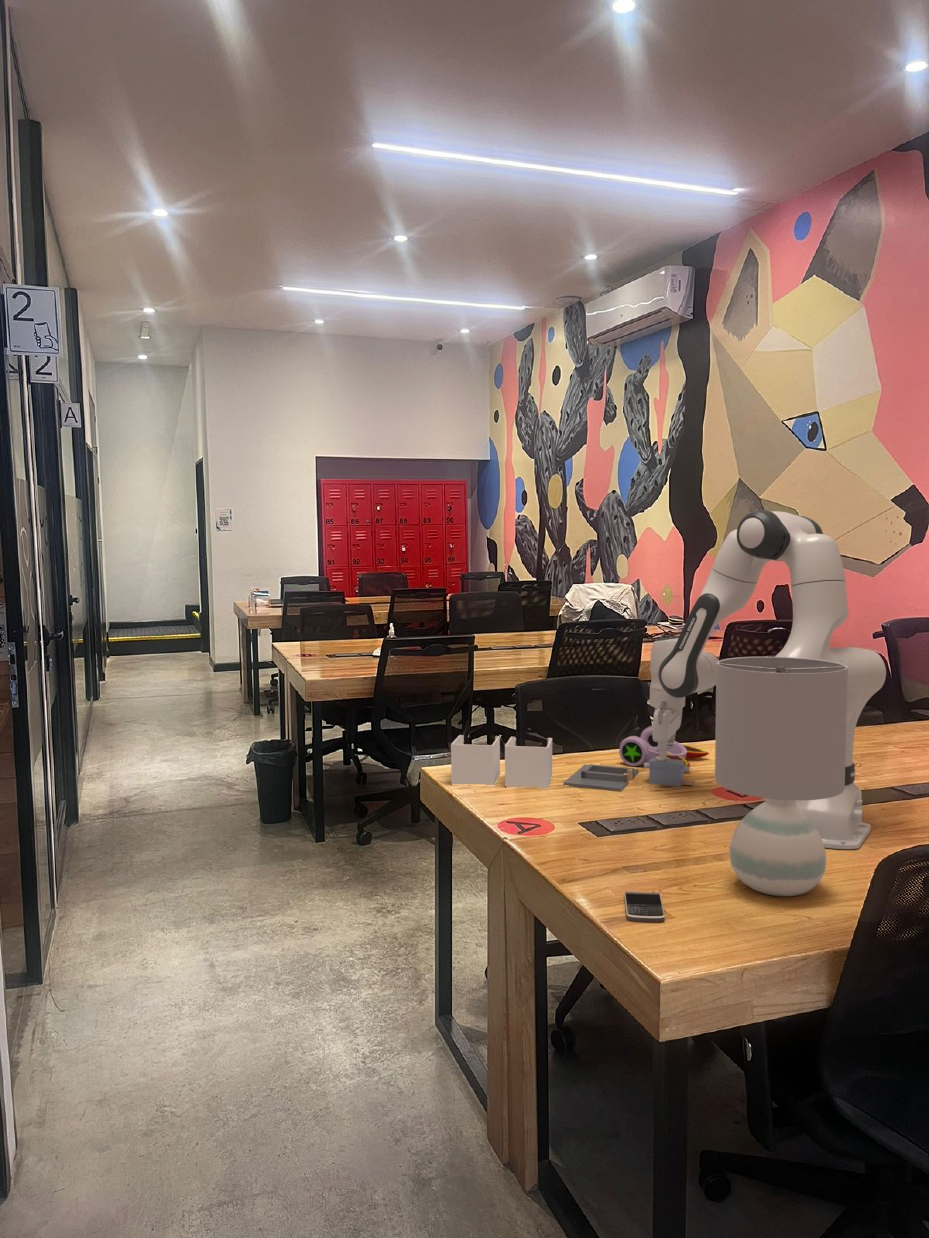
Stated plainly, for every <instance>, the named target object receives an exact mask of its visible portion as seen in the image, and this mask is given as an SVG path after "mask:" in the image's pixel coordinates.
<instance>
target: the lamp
mask: <svg viewBox="0 0 929 1238" xmlns="http://www.w3.org/2000/svg"><path fill="white" fill-rule="evenodd" d="M847 680H848V667H847V666H846V665H844V664H841V663H837V662H832V661H826V660H818V659H808V658H795V657H775V656H742V657H740V656H739V657H732V658H731V657H729V658H725V659H724V658H723V659H720V660H719V661H718V662H717V663H716V685H715V746H714V747H715V748H714V749H715V750H714V752H715V754H714V780H715V783H717V785H719V786H721V787H722V788H723V789H726V790H729V791H731V792H733V793H738V794H742V795H745V796H750V797H755V798H763V799H764V802H762V803H760V804H759V805H757V806H756V807H755V806H754V808H753V809H751V810H750V811H749V812H748V813H746V815H745V816H744V817H742V819H741V820H740V821H739V823H737V825H736V828H735V829H734V831H733V833H732V836H731V839H730V843H729V847H728V848H729V851H728V854H729V856H728V858H729V863H730V866H731V868H732V871H733V872H734V874H735V876H736V877H737V878H738V879H739V880H740V881H741V882H742V883H743V884H744V885H746V886H747V887H748V888H750V889H752V890H754V891H756V892H758V893H762V894H763V895H768V896H773V897H795V896H800V895H804V894H806V893H808V892H810V891H811V890H814V888H815V887H817V886H818V885H819V884H820V882H821V881H822V878H823V877H824V875H825V872H826V869H827V854H826V850H825V849H826V848H824V845H823V842H822V839H821V837H820V835H819V833H818V831H817V830H816V828H815V827H814V825H813V824H812V823H811V822H810V820H809V819H808V818H807V817H806V816H805V815H804V814H803V813H802V812H801V811H800V810H798V809H797V808H796V807H795V806H793V805H792V804H791V800H818V799H825V798H831V797H834V796H837V795H839V794H841V793H842V792H843V791H844V789H845V755H846V717H847Z"/></svg>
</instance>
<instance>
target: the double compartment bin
mask: <svg viewBox="0 0 929 1238" xmlns="http://www.w3.org/2000/svg"><path fill="white" fill-rule="evenodd" d="M464 737H465V735H462V734H459V735H458V736H457V737H456V738H455V739H454V740H453V741H452V743H451V744H450V761H451V762H450V767H451V769H450V771H451V774H450V775H451V780H450V781H451V784H486V785H494V784H495V782H496V780H497V778H498V777H499V775H500V776H501V745H500V744H501V737H500V736H498V735H496V736H495V738H494V739H495V740H494V741H493V743H492V744H467V743H466V744H464V743H465V741H464V740H465V739H464ZM499 778H500V777H499ZM551 778H552V779H553V738H552V737H547V745H546V746H545V747H544V746H526V745H525V746H524V745H523V746H518V745H516V736H510V738H509V739H508V741H507V742H506V744H505V746H504V787H505V786H507V787H540V788H548V787H549V788H550V786H549V784H550V785H551V783H550V781H551V782H552V780H551ZM497 781H498V780H497ZM496 783H497V782H496ZM451 784H450V785H451ZM495 785H496V784H495ZM495 785H494V786H495ZM549 788H548V789H549Z"/></svg>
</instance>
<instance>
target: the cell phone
mask: <svg viewBox="0 0 929 1238" xmlns="http://www.w3.org/2000/svg"><path fill="white" fill-rule="evenodd" d="M623 896H624V904H625V913H626V918H627V920H628V921H632V922H642V923H663V922H664V921H665V917H666V916H665V914H666V913H665V911H664V905H663V901H662V896H661V893H659V892H645V891H644V892H643V891H641V892H639V891H625V892H624V894H623Z"/></svg>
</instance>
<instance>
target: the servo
mask: <svg viewBox="0 0 929 1238" xmlns="http://www.w3.org/2000/svg"><path fill="white" fill-rule="evenodd" d="M690 768H691V765H690V766H684V760H676V759H666V757H660V756H656V758H652V759H651V760H650V762H646V763H644V764H643V769H649V776H648V777H649V784H651V785H661V786H669V787H682V785H686V786H695V783H696V782H695V779H689V778H685V777H684V773H687V772H688V771H690Z"/></svg>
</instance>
